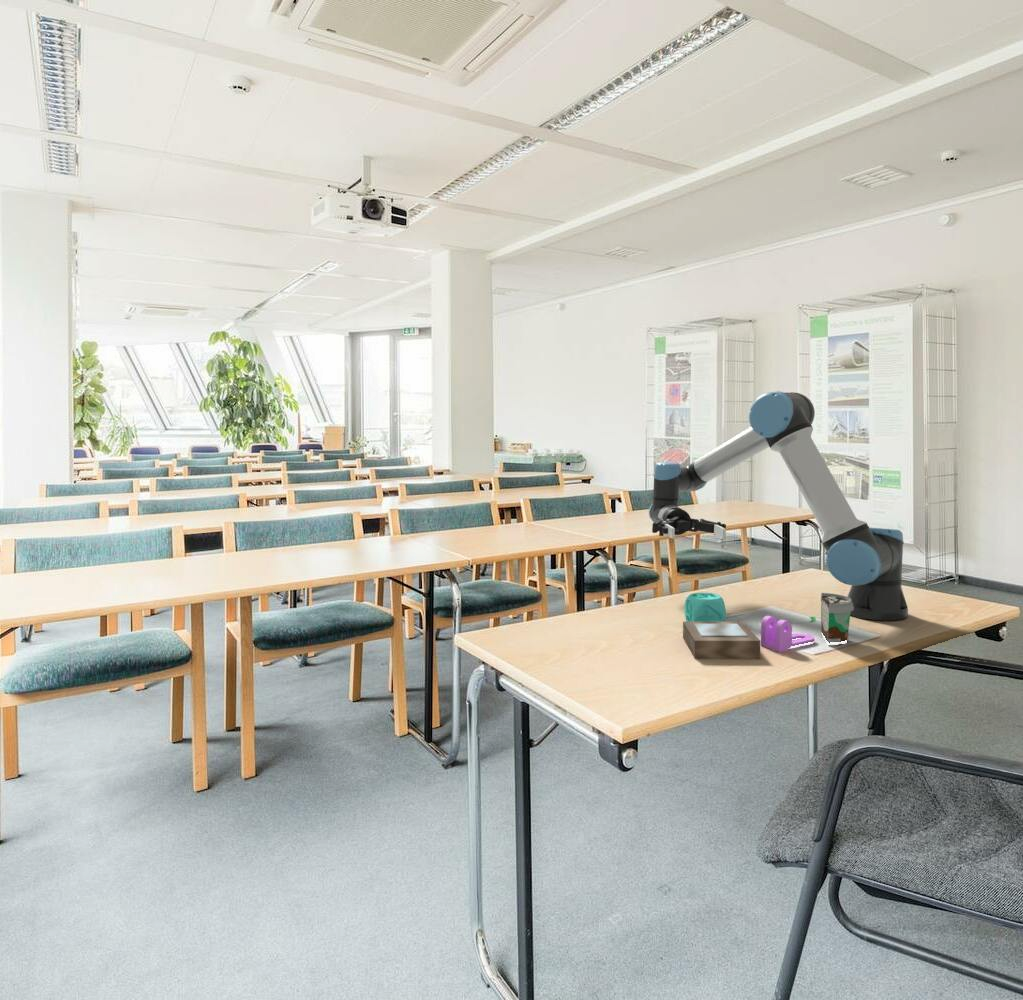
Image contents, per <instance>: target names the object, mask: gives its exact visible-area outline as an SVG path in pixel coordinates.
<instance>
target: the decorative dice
mask: <svg viewBox="0 0 1023 1000" xmlns="http://www.w3.org/2000/svg"><path fill="white" fill-rule="evenodd" d="M726 610H727V609H726V605H725V601H724V599H723V597H722V596H721V595H720V594H718V593H713V592H693V593H690V594H688V596H687V597H686V599H685V602H684V617H685V622H726V619H727V611H726Z"/></svg>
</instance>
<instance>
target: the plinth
mask: <svg viewBox="0 0 1023 1000" xmlns="http://www.w3.org/2000/svg"><path fill="white" fill-rule="evenodd" d="M682 639H683V640H684V642H685V644H686V646H687V647H688V649H689V651H690V653H691V655H692V656H693V658H694V659H703V660H704V659H709V660H710V659H711V660H712V659H718V660H719V659H727V660H730V659H731V660H732V659H733V660H735V659H737V660H739V659H743V660H745V659H748V660H751V659H752V660H755V659H756V660H759V659H761V639H759V638H758V637H757V635H756V634H755V633H754V632H753V631H752V630H751V629H750V628H749V627H748V625H746V623H745V622H744V621H725V622H686V621H682Z"/></svg>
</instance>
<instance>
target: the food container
mask: <svg viewBox="0 0 1023 1000" xmlns="http://www.w3.org/2000/svg"><path fill="white" fill-rule="evenodd" d="M820 601H821V604H820V605H821V607H820V615H821V616H820V619H821V620H820V623H821V624H820V633H821V632H822V633H823V635H824V636H825V638H826V640H827V641H828V642H829V643H830V642H841V641H845V640H847V639H848V638H849V629H850V619H851V615H850V612H851V611H853V610H854V607H853V602H852V601H851V599H850V598H849V597H847V596H845V595H842V594H836V593H827V592H821V596H820ZM847 641H848V640H847Z"/></svg>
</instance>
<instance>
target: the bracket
mask: <svg viewBox="0 0 1023 1000" xmlns="http://www.w3.org/2000/svg"><path fill="white" fill-rule="evenodd" d="M796 638H801V639H797V640H792V639H796ZM813 641H814V642H815V636H813V635H811V634H807V633H799V632H798V633H793V624H792V622H790V621H789V620H786V619H779V620H777V618H776V617H775V616H771V615H765V616H763V618H762V620H761V623H760V647H762V648H763V647H764V648H766V647H767V648H766V649H769V650H772V649H773V651H775V650H776V652H778V653H781V652H786V651H785V650H787V649H788V648H790V647H791V646H795V645H799V644H804V643H808V642H813ZM787 651H788V650H787Z"/></svg>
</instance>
